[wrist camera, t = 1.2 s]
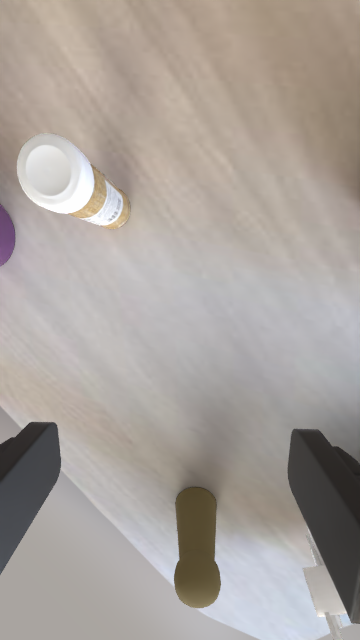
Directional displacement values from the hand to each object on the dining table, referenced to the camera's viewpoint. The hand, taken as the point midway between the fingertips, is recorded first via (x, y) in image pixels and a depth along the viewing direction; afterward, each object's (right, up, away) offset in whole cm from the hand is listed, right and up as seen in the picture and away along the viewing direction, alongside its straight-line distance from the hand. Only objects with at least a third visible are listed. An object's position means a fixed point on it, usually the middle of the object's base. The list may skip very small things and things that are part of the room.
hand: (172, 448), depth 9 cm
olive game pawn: (+3, -23, +30) cm, 38 cm away
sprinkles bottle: (-7, +17, +21) cm, 28 cm away
